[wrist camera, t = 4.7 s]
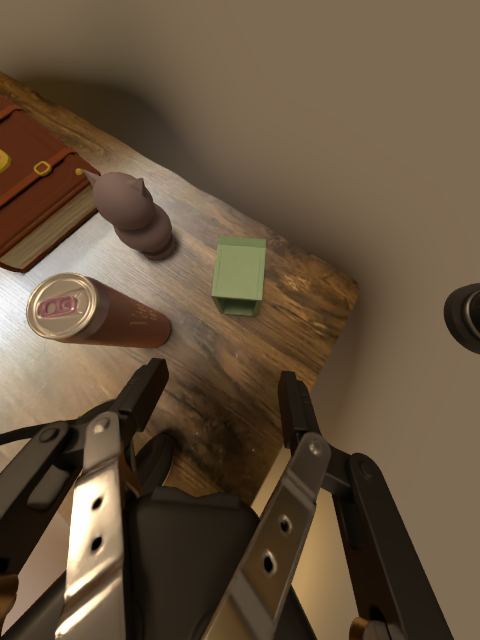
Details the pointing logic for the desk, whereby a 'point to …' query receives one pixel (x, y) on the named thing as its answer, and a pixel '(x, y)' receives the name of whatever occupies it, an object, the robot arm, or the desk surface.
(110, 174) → the cat figurine
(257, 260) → the green open-top box
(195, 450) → the desk surface
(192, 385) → the desk surface
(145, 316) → the beverage can
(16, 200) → the book
